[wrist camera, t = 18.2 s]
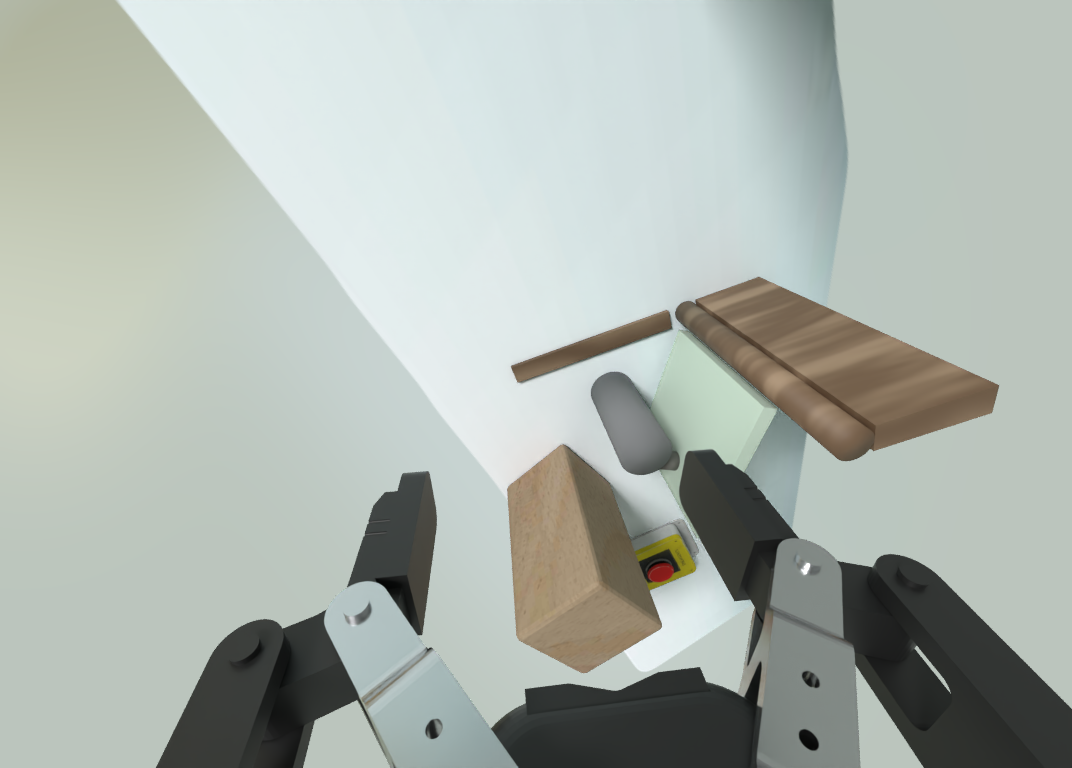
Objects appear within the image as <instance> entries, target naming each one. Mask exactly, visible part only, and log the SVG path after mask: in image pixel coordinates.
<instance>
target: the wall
mask: <svg viewBox="0 0 1072 768" xmlns="http://www.w3.org/2000/svg"><path fill="white" fill-rule="evenodd" d="M675 316H676V318H677V320H678V321H679V322H681V323H682V324H683V325H684V326H685V327H686V328H687V329H689V330H690V331H691V332H692V333H693V334H694V335H696V336H697V337H698V338H699V339H700V340H701V341H702V342H704V343H705V344H706V345H707V346H708V347H709V348H711V349H712V350H713V351H714V352H715V353H716V354H717V355H719V356H720V357H721V358H722V359H723V360H724V361H725V362H727V363H728V364H729V365H730V366H731V367H732V368H734V369H735V370H736V371H737V372H738V373H739V374H740V375H742V376H743V377H744V378H745V379H746V380H747V381H749V382H750V383H751V384H752V385H753V386H754V387H755V388H757V389H758V390H759V391H760V392H761V393H762V394H764V395H765V396H766V397H767V398H768V399H769V400H770V401H772V402H773V403H774V404H775V405H776V406H777V407H778V408H780V409H781V410H782V411H783V412H784V413H785V414H787V415H788V416H789V417H790V418H791V419H792V420H793V421H795V422H796V423H797V424H798V425H799V426H800V427H802V428H803V429H804V430H805V431H806V432H807V433H808V434H810V435H811V436H812V437H813V438H814V439H815V440H817V441H818V442H819V443H820V444H821V445H822V446H823V447H825V448H826V449H827V450H828V451H829V452H830V453H832V454H833V455H834V456H835V457H836V458H837V459H839V460H841V461H851V460H854V459H857V458H859V457H861V456H862V455H864V454H865V453H866V452H867V451H868V450H869V449H872V450H873V451H875V450H878V449H881V448H884V447H888V446H891V445H893V444H897V443H900V442H903V441H906V440H909V439H912V438H916V437H919V436H922V435H925V434H928V433H931V432H934V431H937V430H940V429H943V428H946V427H949V426H952V425H956V424H959V423H962V422H965V421H968V420H971V419H974V418H978V417H980V416H983V415H987V414H990V413H992V411H993V407H994V403H995V400H996V396H997V392H998V388H999V385H997V384H995V383H993V382H991V381H989V380H986V379H984V378H982V377H980V376H977V375H975V374H973V373H971V372H969V371H966V370H964V369H962V368H960V367H957V366H955V365H953V364H951V363H948V362H946V361H944V360H942V359H940V358H938V357H935V356H933V355H931V354H929V353H926V352H924V351H922V350H920V349H918V348H915V347H913V346H911V345H909V344H907V343H904V342H902V341H900V340H898V339H895V338H893V337H891V336H889V335H887V334H884V333H882V332H880V331H878V330H875V329H873V328H871V327H869V326H867V325H864V324H862V323H860V322H858V321H855V320H853V319H851V318H849V317H847V316H844V315H842V314H840V313H838V312H835V311H833V310H831V309H829V308H827V307H825V306H822V305H820V304H818V303H816V302H813V301H811V300H809V299H807V298H805V297H802V296H800V295H798V294H796V293H793V292H791V291H789V290H787V289H785V288H782V287H780V286H778V285H776V284H774V283H771V282H769V281H767V280H765V279H762V278H760V277H757V278H755V279H752V280H749V281H746V282H744V283H741V284H738V285H735V286H732V287H730V288H727V289H724V290H721V291H718V292H716V293H713V294H710V295H707V296H705V297H702V298H699V299H696V304H694V303H693V302H691V301H686V302H683V303H681V304H680V305H679V306H678V307H677V309H676V312H675ZM670 328H672V327H671V322H670V316H669V311H667V310H666V311H663V312H660V313H657V314H654V315H652V316H649V317H646V318H643V319H640V320H638V321H635V322H632V323H629V324H627V325H624V326H621V327H618V328H615V329H613V330H610V331H607V332H604V333H601V334H599V335H596V336H593V337H590V338H588V339H585V340H582V341H579V342H576V343H574V344H571V345H568V346H565V347H562V348H560V349H557V350H554V351H551V352H548V353H546V354H543V355H540V356H537V357H535V358H532V359H529V360H526V361H523V362H521V363H518V364H515V365H512V366H511V368H512V371H513V373H514V375H515V378H516V380H517V382H521V381H524V380H527V379H529V378H532V377H535V376H538V375H541V374H543V373H546V372H549V371H552V370H555V369H558V368H560V367H563V366H566V365H569V364H572V363H574V362H577V361H580V360H583V359H586V358H588V357H591V356H594V355H597V354H600V353H603V352H605V351H608V350H611V349H614V348H617V347H619V346H622V345H625V344H628V343H631V342H634V341H636V340H639V339H642V338H645V337H648V336H650V335H653V334H656V333H659V332H662V331H664V330H667V329H670Z"/></svg>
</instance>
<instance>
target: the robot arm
mask: <svg viewBox="0 0 1072 768" xmlns="http://www.w3.org/2000/svg"><path fill="white" fill-rule="evenodd" d="M679 497H680V501H681V505H682V507H683V509H684V511H685V513H686V514H687V516H688V518H689V520H690V522H691V523H692V525H693V527H694V529H695V531H696V532H697V534H698V536H699V538H700V540H701V541H702V543H703V545H704V547H705V549H706V550H707V552H708V554H709V556H710V558H711V559H712V561H713V563H714V565H715V567H716V568H717V570H718V572H719V574H720V576H721V577H722V579H723V581H724V583H725V585H726V586H727V588H728V590H729V592H730V594H731V595H732V597H733V599H734V601H741V600H751V601H752V603H753V605H754V607H755V609H754V611H753V615H752V621H751V627H750V633H749V639H748V645H747V651H746V657H745V663H744V669H743V675H742V679H741V683H740V687H739V690H738V694H737V693H735V692H733V691H731V690H729V689H726V688H724V687H722V686H719V685H715V684H712V683H708V682H706V681H705V678H704V676H703V673H702V671H701V669H700V667H697V668H689V669H681V670H674V671H665V672H658V673H656V674H654V675H652V676H649V677H647V678H645V679H643V680H641V681H639V682H636V683H634V684H632V685H630V686H628V687H626V688H624V689H622V690H618V691H611V690H605V689H599V688H593V687H587V686H581V685H575V684H561V685H553V686H545V687H538V688H530V689H525V696H526V704H523V705H521V706H519V707H518V708H515V709H514V710H512V711H511V712H509V713H508V714H506V715H505V716H504V717H503V718H501V719H500V720H499V721H498V722H497V723H496V724H495V725H494V726H493V727H492V728H490V727H489V725H488V724H487V723H486V721H485V720H484V718H483V717H482V715H481V714H480V713H479V711H478V710H477V708H476V707H475V706H474V704H473V703H472V701H471V700H470V698H469V697H468V696H467V694H466V693H465V692H464V690H463V689H462V687H461V686H460V684H459V683H458V681H457V680H456V679H455V678H454V676H453V674H452V673H451V672H450V670H449V669H448V667H447V666H446V664H445V663H444V662H443V660H442V659H441V657H440V656H439V655H438V654H437V653H436V651H435V650H434V649H433V648H429V649H428V648H427V647H426V646H425V645H424V644H423V643H422V641H421V639H420V638H419V637H418V635H422V632H423V625H424V618H425V610H426V603H427V595H428V588H429V580H430V573H431V565H432V558H433V550H434V543H435V535H436V526H437V515H436V506H435V501H434V495H433V490H432V484H431V479H430V474H429V472H428V471H426V472H414V473H403V474H402V477H401V480H400V484H399V488H398V491H395V492H385V493H384V494H383V495H382V496H381V498H380V499H379V500H378V501H377V502H376V503H375V505H374V506H373V509H372V512H371V515H370V518H369V524H368V525H367V528H366V531H365V536H364V537H363V540H362V543H361V546H360V549H359V552H358V556H357V559H356V562H355V565H354V568H353V571H352V574H351V577H350V581H349V584H348V586H347V588H346V589H344V590H343V591H341V592H340V593H339V594H338V595H337V596H336V597H335V598H334V599H333V600H332V601H331V603H330V605H329V606H328V608H327V609H326V610H325V611H323V612H322V613H320V614H318V615H316V616H314V617H311V618H309V619H306V620H304V621H301V622H299V623H296V624H293V625H291V626H288V627H286V628H283V629H282V627H281V626H280V625H279V624H278V623H277V622H275V621H273V620H267V619H263V620H256V621H253V622H250V623H247V624H245V625H243V626H241V627H239V628H238V629H236V630H235V631H234V632H232V633H231V634H229V635H228V636H227V637H226V638H225V639H224V640H223V641H222V642H221V643H220V644H219V645H218V646H217V648H216V649H215V650H214V652H213V653H212V655H211V657H210V659H209V661H208V663H207V665H206V667H205V669H204V671H203V673H202V675H201V677H200V679H199V681H198V683H197V685H196V687H195V689H194V691H193V693H192V696H191V697H190V700H189V701H188V704H187V706H186V708H185V710H184V712H183V714H182V716H181V718H180V720H179V722H178V724H177V726H176V728H175V730H174V732H173V734H172V736H171V738H170V740H169V742H168V744H167V747H166V748H165V750H164V752H163V755H162V757H161V759H160V761H159V763H158V765H157V767H156V768H303V765H304V761H305V757H306V753H307V749H308V745H309V741H310V737H311V733H312V729H313V725H314V721H315V720H316V719H318V718H320V717H322V716H325V715H327V714H329V713H331V712H333V711H335V710H337V709H339V708H341V707H343V706H345V705H348V704H350V703H351V702H354V701H356V700H357V701H358V703H359V705H360V707H361V709H362V711H363V713H364V715H365V717H366V719H367V721H368V723H369V725H370V727H371V729H372V731H373V733H374V735H375V737H376V739H377V741H378V743H379V745H380V747H381V749H382V751H383V753H384V755H385V757H386V759H387V761H388V763H389V765H390V768H860V751H859V730H858V711H857V691H856V673H855V672H856V671H855V665H856V666H857V668H858V669H859V671H860V672H861V674H862V675H863V677H864V678H865V680H866V681H867V683H868V684H869V686H870V687H871V689H872V690H873V692H874V693H875V695H876V696H877V698H878V699H879V701H880V702H881V704H882V705H883V707H884V708H885V710H886V711H887V713H888V714H889V716H890V717H891V719H892V720H893V722H894V723H895V725H896V726H897V728H898V729H899V731H900V732H901V734H902V735H903V737H904V738H905V739H906V741H907V743H908V744H909V746H910V747H911V749H912V750H913V752H914V753H915V755H916V756H917V758H918V759H919V761H920V762H921V764H922V765H923V767H924V768H1072V709H1071V708H1070V707H1069V706H1068V705H1067V704H1066V703H1065V702H1064V701H1063V700H1062V699H1061V698H1060V697H1059V696H1058V695H1057V694H1056V693H1055V692H1054V691H1053V690H1052V689H1051V688H1050V687H1049V686H1048V685H1047V684H1046V683H1045V682H1044V681H1043V680H1042V679H1041V678H1040V677H1039V676H1038V675H1037V674H1036V673H1035V672H1034V671H1033V670H1032V669H1031V668H1030V667H1029V666H1028V665H1027V664H1026V663H1025V662H1024V661H1023V660H1022V659H1021V658H1020V657H1019V656H1018V655H1017V654H1016V653H1015V652H1014V651H1013V650H1012V649H1011V648H1010V647H1009V646H1008V645H1007V644H1006V643H1005V642H1004V641H1003V640H1002V639H1001V638H1000V637H999V636H998V635H997V634H996V633H995V632H994V631H993V630H992V629H991V628H990V627H989V626H988V625H987V624H986V623H985V622H984V621H983V620H982V619H981V618H980V617H979V616H978V615H977V614H976V613H975V612H974V611H973V610H972V609H971V608H970V607H969V606H968V605H967V604H966V603H965V602H964V601H963V600H962V599H961V598H960V597H959V596H958V595H957V594H956V593H955V592H954V591H953V590H952V589H951V588H950V587H949V586H948V585H947V584H946V583H945V582H944V581H943V580H942V579H941V578H940V577H939V576H938V575H937V574H936V573H935V572H933V571H932V570H931V569H929V568H928V567H926V566H925V565H923V564H921V563H919V562H917V561H915V560H913V559H910V558H907V557H904V556H900V555H894V554H888V555H883V556H881V557H879V558H878V559H877V561H876V563H875V564H874V566H873V567H868V566H862V565H856V564H850V563H844V562H839V561H837V560H836V559H835V558H834V557H833V556H832V555H831V554H830V553H829V552H828V551H826V550H825V549H824V548H822V547H821V546H819V545H817V544H815V543H812V542H810V541H807V540H803V539H799V538H798V537H797V535H796V534H795V533H794V532H793V530H792V529H791V528H790V527H789V525H788V524H787V523H786V522H785V521H784V519H783V518H782V517H781V516H780V514H779V513H778V512H777V511H776V510H775V508H774V507H773V506H772V505H771V503H770V502H769V501H768V500H766V497H765V496H764V495H763V494H762V492H761V491H760V490H758V489H757V486H756V485H755V484H754V482H753V481H752V480H751V479H750V478H749V476H748V475H747V474H746V473H744V472H743V471H741V470H740V469H738V468H737V467H735V466H734V465H733V464H725V463H724V461H723V460H722V459H721V458H720V456H719V455H718V454H717V452H716V451H715V450H713V449H706V450H693V451H688V452H687V453H686V455H685V460H684V465H683V470H682V476H681V481H680V486H679ZM916 646H918V647H919V649H920V650H921V651H922V652H923V654H924V655H925V656H926V657H927V658H928V660H929V661H930V662H931V663H932V665H933V666H934V667H935V668H936V669H937V671H938V672H939V673H940V674H941V676H942V677H943V678H944V680H945V681H946V683H947V685H948V687H949V689H950V692H951V694H950V692H949V691H948V690H947V689H946V687H945V686H944V685H943V684H942V683H941V681H940V680H939V679H938V677H937V676H936V675H935V674H934V672H933V671H932V670H931V669H930V668H929V666H928V665H927V664H926V662H925V661H924V660H923V659H922V657H920V655H919V654H918V653H917V651H916V650H915V649H914V648H915V647H916Z"/></svg>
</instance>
